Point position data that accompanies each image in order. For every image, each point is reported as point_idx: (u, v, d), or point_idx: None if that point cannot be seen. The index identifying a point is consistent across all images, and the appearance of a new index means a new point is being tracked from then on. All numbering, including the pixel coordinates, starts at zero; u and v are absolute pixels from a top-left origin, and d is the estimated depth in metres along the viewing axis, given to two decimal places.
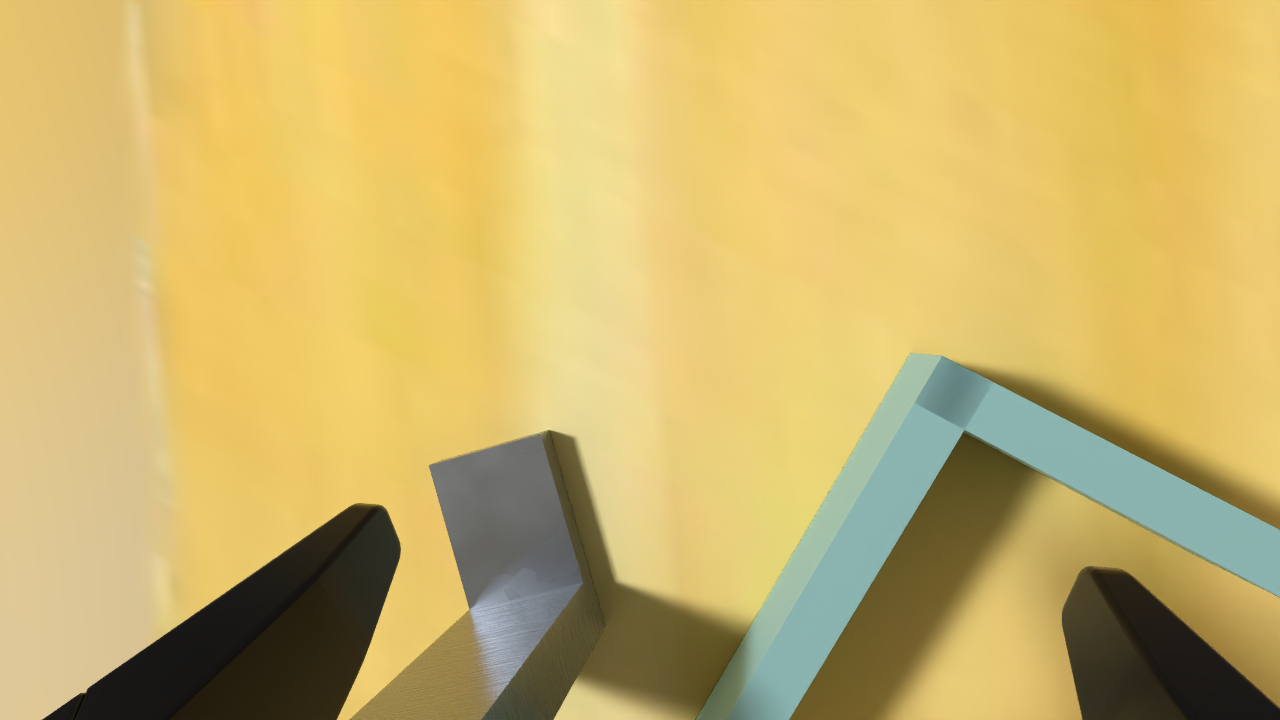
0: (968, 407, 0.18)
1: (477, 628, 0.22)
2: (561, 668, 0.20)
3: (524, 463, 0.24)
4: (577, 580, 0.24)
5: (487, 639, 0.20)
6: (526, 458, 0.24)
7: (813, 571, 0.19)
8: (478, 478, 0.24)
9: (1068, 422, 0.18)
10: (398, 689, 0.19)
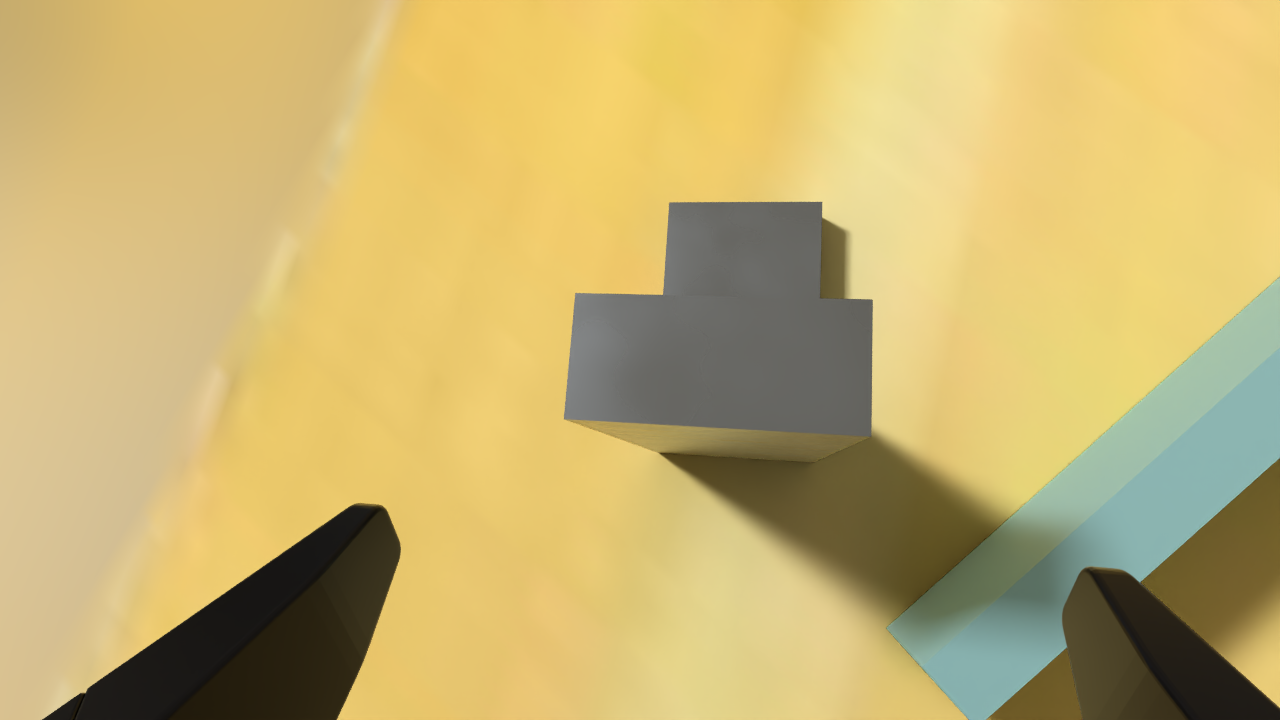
0: None
1: None
2: None
3: (790, 230, 0.19)
4: None
5: None
6: (794, 225, 0.19)
7: (1214, 402, 0.14)
8: (725, 231, 0.20)
9: None
10: None
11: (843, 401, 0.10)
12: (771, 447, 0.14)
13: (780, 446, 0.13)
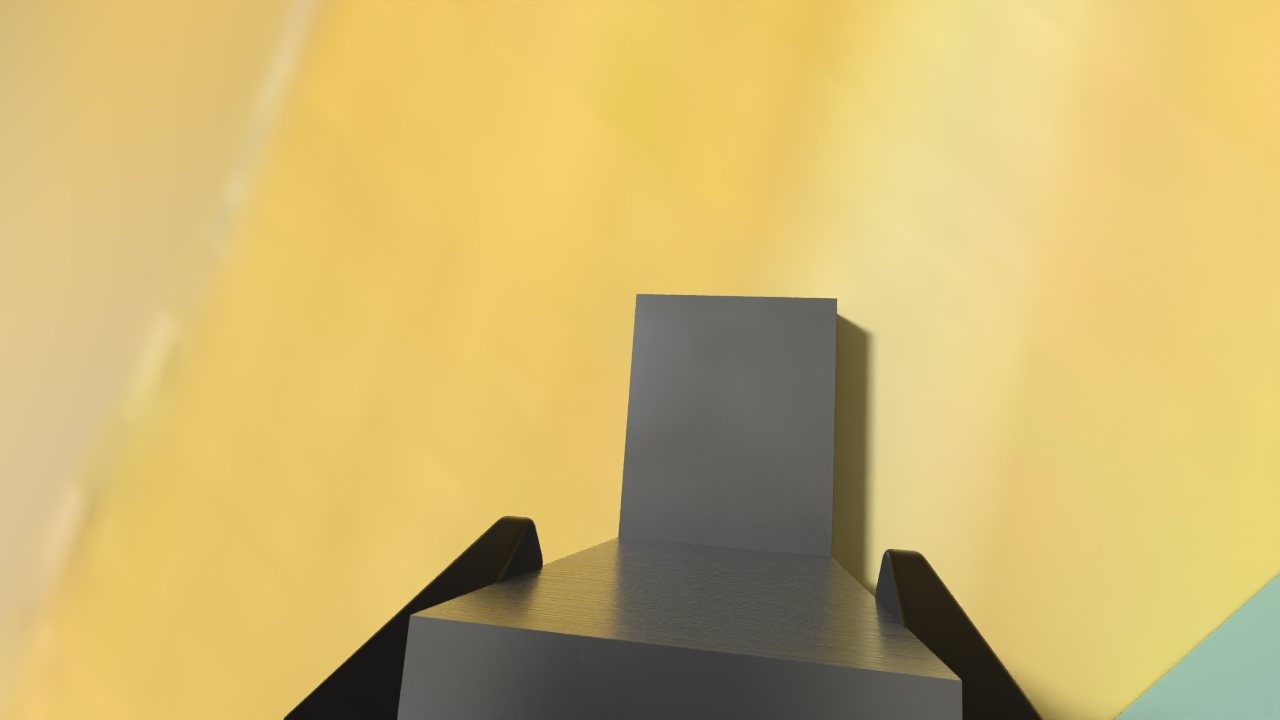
0: None
1: (668, 553, 0.12)
2: None
3: (795, 335, 0.15)
4: (823, 549, 0.14)
5: (717, 567, 0.11)
6: (800, 329, 0.15)
7: None
8: (709, 335, 0.15)
9: None
10: (573, 575, 0.09)
11: None
12: None
13: None
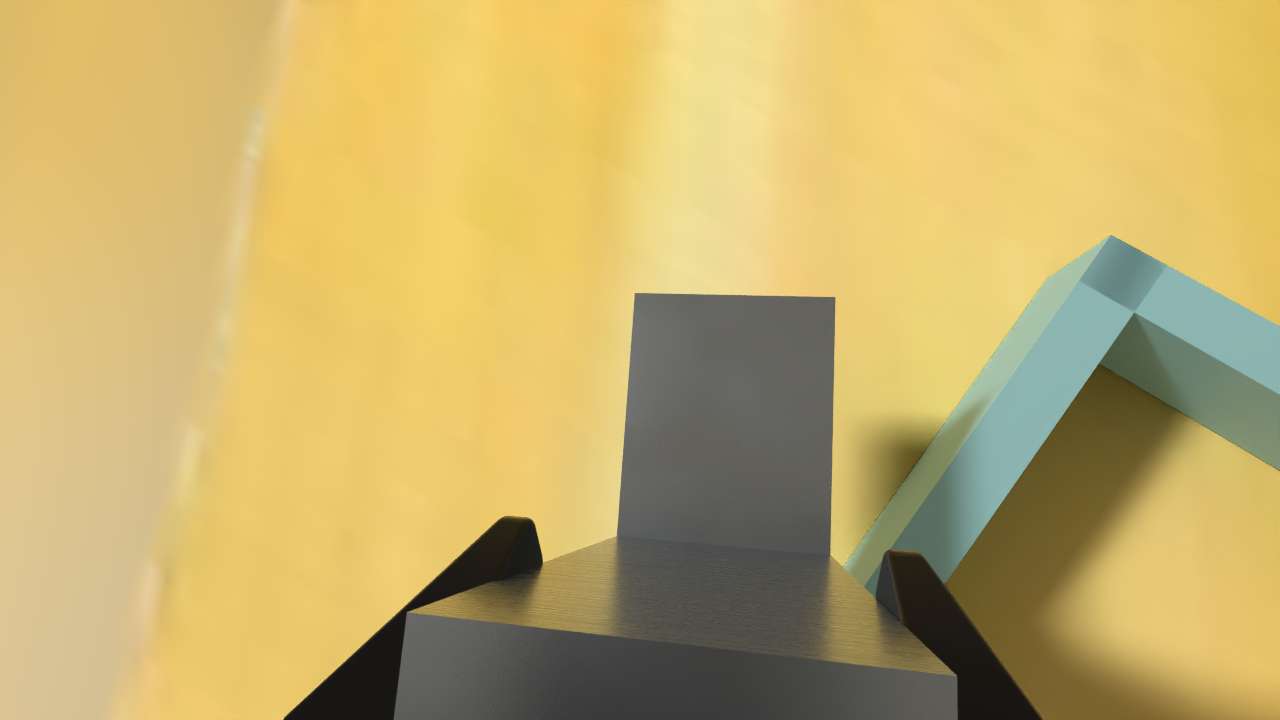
0: (1138, 289, 0.17)
1: (667, 552, 0.12)
2: None
3: (793, 335, 0.15)
4: (821, 547, 0.14)
5: (715, 566, 0.11)
6: (799, 328, 0.15)
7: (954, 456, 0.17)
8: (707, 334, 0.15)
9: (1251, 311, 0.17)
10: (571, 573, 0.09)
11: None
12: None
13: None
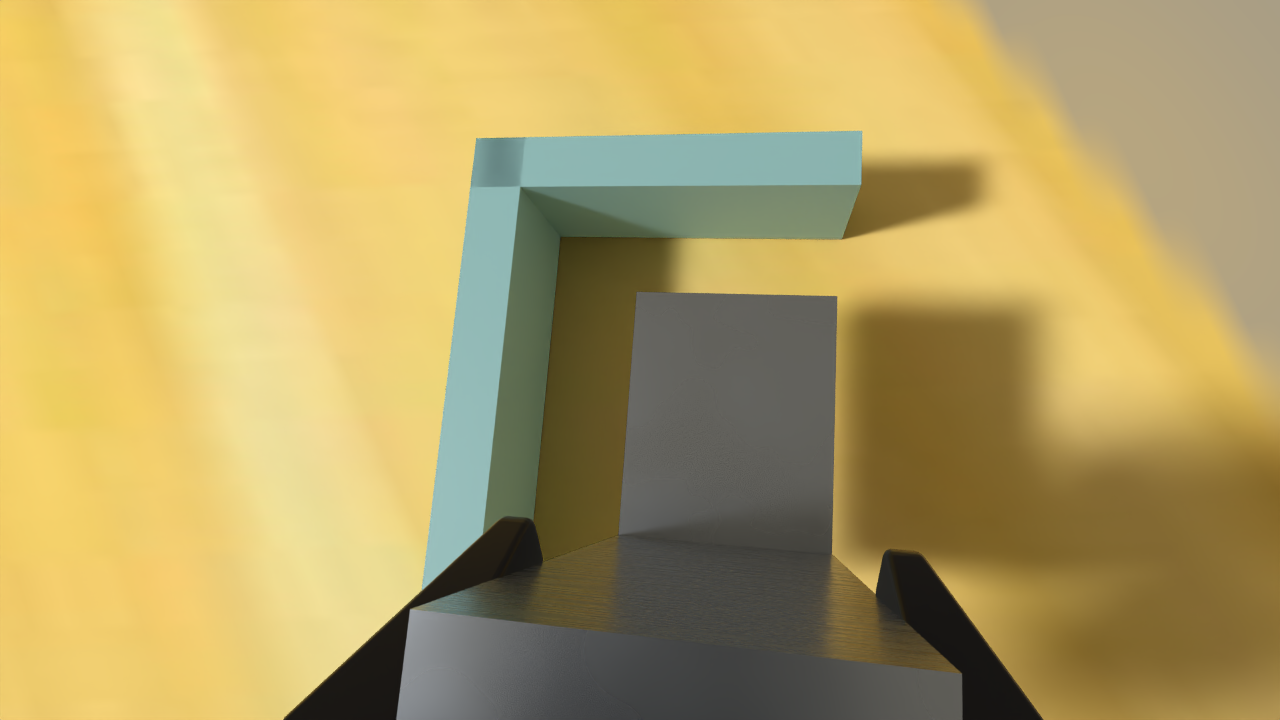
0: (514, 167, 0.19)
1: (668, 550, 0.12)
2: None
3: (795, 333, 0.15)
4: (823, 546, 0.14)
5: (717, 564, 0.11)
6: (800, 326, 0.15)
7: (448, 381, 0.18)
8: (709, 333, 0.15)
9: (597, 136, 0.19)
10: (574, 571, 0.09)
11: None
12: None
13: None
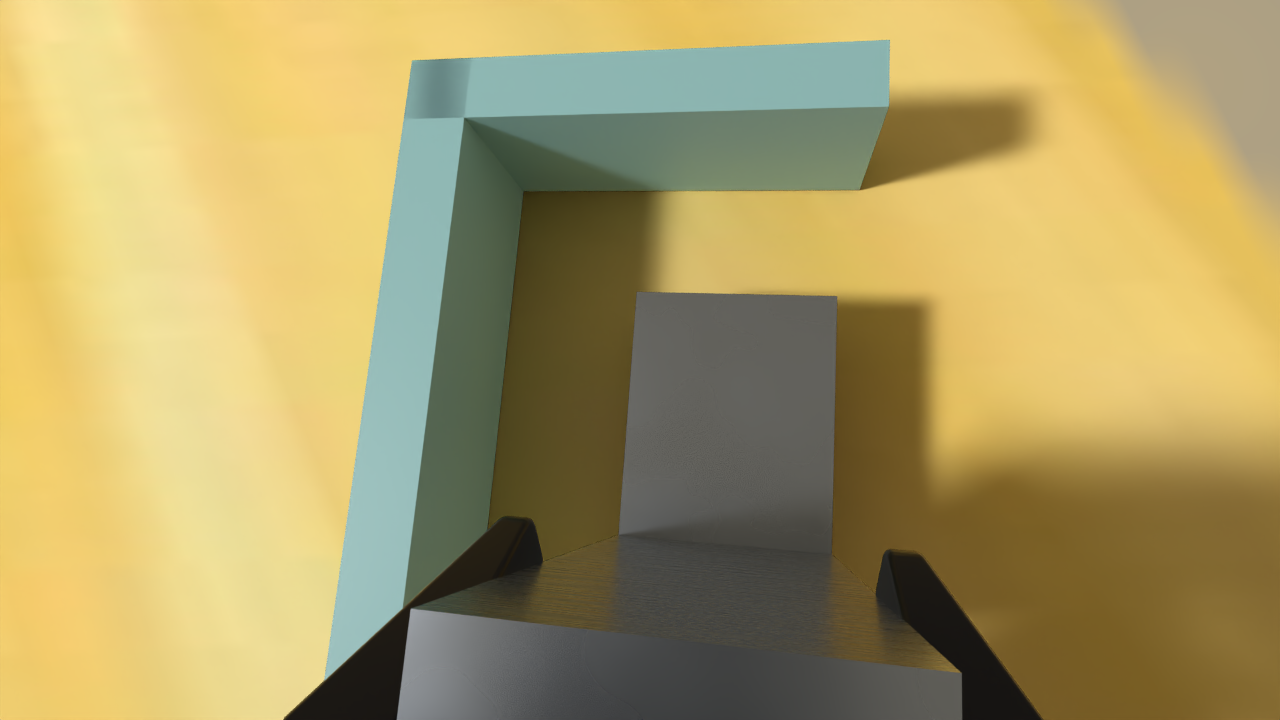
0: (458, 95, 0.15)
1: (668, 550, 0.12)
2: None
3: (795, 333, 0.15)
4: (823, 546, 0.14)
5: (717, 564, 0.11)
6: (800, 326, 0.15)
7: (372, 357, 0.15)
8: (709, 333, 0.15)
9: (559, 54, 0.15)
10: (573, 570, 0.09)
11: None
12: None
13: None
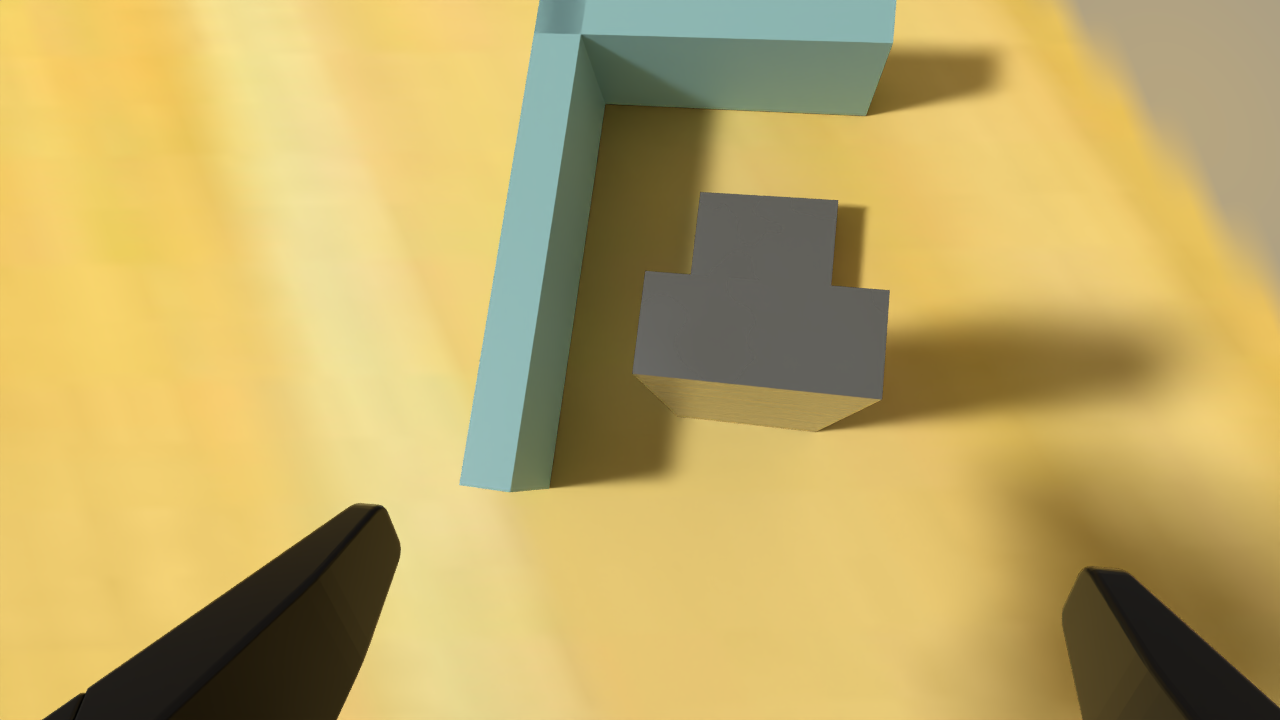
0: (576, 17, 0.21)
1: None
2: None
3: (808, 223, 0.22)
4: None
5: None
6: (812, 219, 0.22)
7: (507, 204, 0.20)
8: (750, 222, 0.22)
9: None
10: None
11: (861, 370, 0.12)
12: (789, 411, 0.16)
13: (798, 410, 0.15)
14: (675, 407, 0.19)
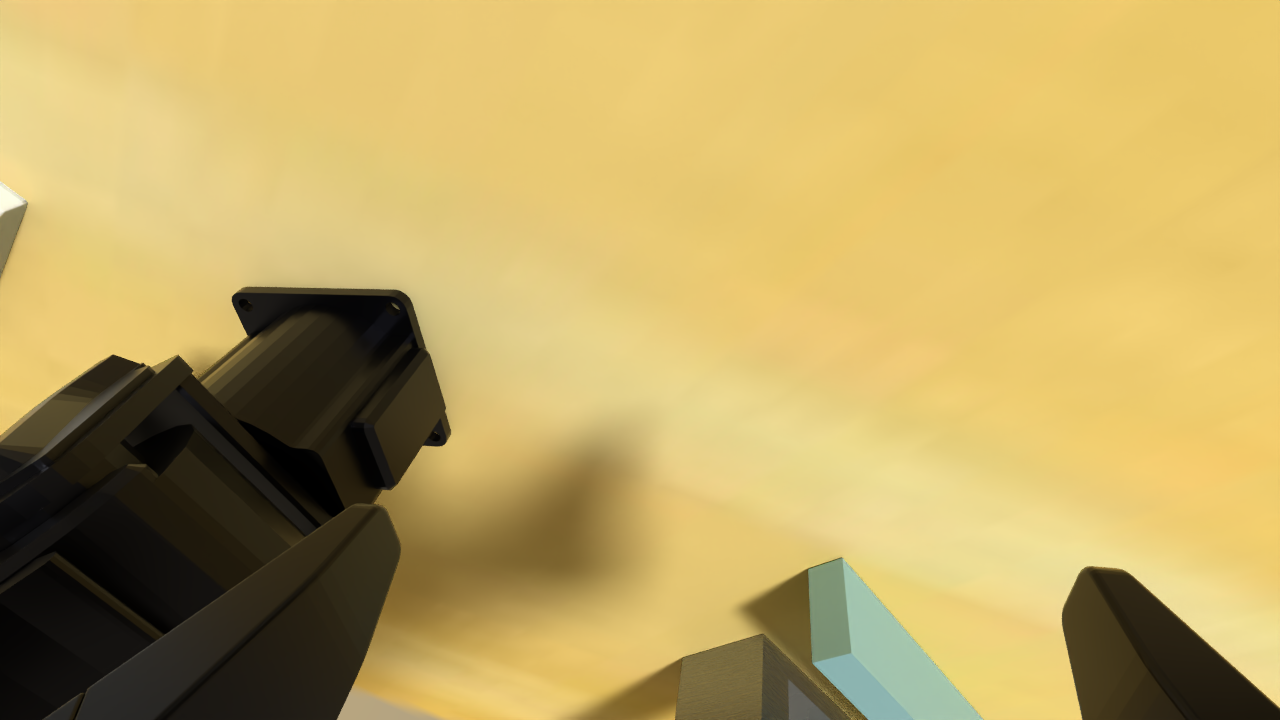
0: None
1: None
2: None
3: None
4: None
5: None
6: None
7: None
8: None
9: None
10: None
11: None
12: None
13: None
14: (756, 713, 0.27)
